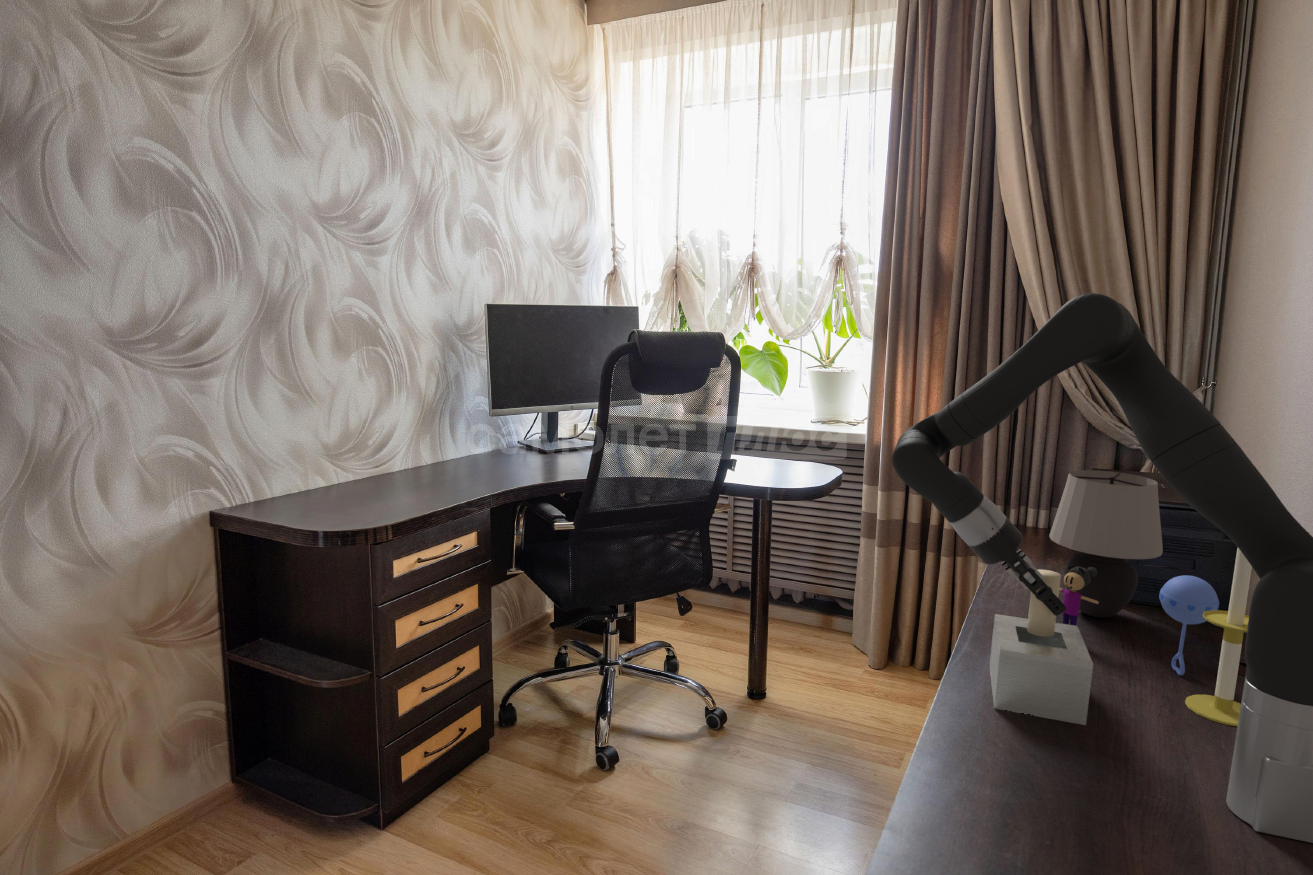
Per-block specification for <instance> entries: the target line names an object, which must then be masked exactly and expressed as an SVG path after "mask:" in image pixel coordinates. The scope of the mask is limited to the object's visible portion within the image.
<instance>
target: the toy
mask: <svg viewBox="0 0 1313 875" xmlns="http://www.w3.org/2000/svg"><path fill="white" fill-rule="evenodd" d="M1070 568H1072V569H1071V570H1070V571H1069V573H1067V574H1066V575H1064V578H1063V584H1064V586H1065V587H1066V589H1065V588H1062V587H1059V592H1061V593H1063V602H1062V603H1063V604H1064V605H1065V606H1066V610H1065V611H1064V612H1062V623H1061V624H1067V625H1074V626H1077V623H1078V617H1079V614H1080V610H1079V609H1080V602H1081V599H1084V600H1087V601H1090V602H1093V603H1096V604H1098V603H1099V602H1098V601H1096V600H1093V599H1090V598H1087V597H1085V596H1082V595H1081V594H1080V593H1078V592H1077V591H1075V590H1080V589H1082V588H1083V587H1085V586H1087V585H1088V584H1089V583H1090V581H1091V576H1092V577H1093V576H1096V575H1097V570H1096V569H1095V568H1094V567H1089V568H1088V569H1087V570H1086V569H1085V568H1083V567H1075V566H1074V565H1071V566H1069V567H1068V570H1069V569H1070ZM1067 588H1069V589H1071V590H1067Z"/></svg>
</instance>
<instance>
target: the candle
mask: <svg viewBox="0 0 1313 875" xmlns="http://www.w3.org/2000/svg"><path fill="white" fill-rule="evenodd" d="M1252 570H1253V568H1252V566H1251V565H1250V563H1249V562H1248V560H1247V559H1246V558H1245V556H1244V555H1243V553H1242V552H1241V551H1240V549H1239V548H1238V547H1237V549H1236V556H1235V562H1234V570H1233V577H1232V583H1231V590H1230V596H1229V598H1230V599H1229V604H1228V610H1219V609H1218V610H1210V611H1206V612H1204V613H1203V617H1204V619H1205V620H1206V622H1209V623H1211V624H1212V625H1214V626H1217V627H1220V628H1223V635H1222V642H1221V650H1220V655H1219V663H1218V664H1219V665H1218V669H1217V677H1216V684H1215V690H1214V695H1210V694H1192V695H1189V696H1187V697H1186V699H1185V701H1184V703H1185V705H1186V706H1187V708H1188V709H1189V710H1191V711H1192V712H1194V713H1195V714H1196V715H1198V716H1200V717H1202V718H1204V719H1207V720H1209V721H1212V722H1215V723H1219V724H1222V725H1225V726H1233V727H1236V728H1237V727H1238V721H1239V714H1240V708H1241V703H1240V702H1237V701H1235V700H1234V699H1235V692H1236V686H1237V681H1238V673H1239V666H1240V659H1241V653H1242V646H1243V639H1244V633H1245V634H1247V629H1248V621H1249V614H1248V615H1247V614H1246V610H1247V601H1248V597H1249V596H1248V595H1249V588H1250V581H1251V577H1252V576H1251V574H1252Z"/></svg>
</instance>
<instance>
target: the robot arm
mask: <svg viewBox="0 0 1313 875" xmlns="http://www.w3.org/2000/svg"><path fill="white" fill-rule="evenodd" d="M1080 363H1083V364H1084V365H1086V367H1087V368H1089V369H1090V370H1091V372H1092V373H1093V374H1094V375H1095V376H1096V377H1097V378H1098V379H1099V380H1100V381H1101V382H1102V383H1103V385H1105V387H1106V388H1107V389H1108V390H1109V392H1111V394H1112V395H1113V397H1114V398H1115V399H1116V401H1117V402H1118V404H1119V407H1120V408H1121V409H1122V411H1123V414H1124V415H1125V417H1126V420H1127V422H1128V425H1129V427H1130V428H1131V431H1132V432H1133V435H1134V437H1135V438H1136V441H1137V442H1138V444H1139V445H1140V448H1141V449H1142V450H1143V452H1144V454H1145V456H1146V457H1147V458H1148V459H1149V461H1150V462H1151V464H1152V465H1153V467H1154V468H1155V469H1156V471H1158V473H1159V474H1160V475H1161V477H1162V478H1163V479H1164V481H1165V482H1166V483H1167V485H1169V486H1170V488H1171V489H1172V490H1173V491H1174V492H1175V493H1176V494H1177V495H1178V496H1179V497H1180V498H1181V500H1183V501H1184V502H1185V503H1186V504H1188V505H1189V506H1190V508H1193V509H1194V510H1195V511H1196V512H1198V514H1200V515H1201V516H1202V517H1204V518H1205V519H1206V520H1208V521H1209V522H1210V523H1212V524H1213V525H1214V526H1215V527H1217V528H1218V529H1219V530H1220V531H1221V532H1222V533H1224V534H1225V535H1226V536H1227V537H1228V538H1229V539H1230V540H1231V541H1232V543H1234V545H1235V546H1236V547H1237V548H1239V549H1240V551H1241V552H1242V553H1243V555H1244V556H1245V558H1246V559H1247V560H1248V562H1249V563H1250V565H1251V566H1252V570H1254V572H1255V574H1256V575H1257V577H1258V578H1259V580H1258V582H1257V583H1256V586H1255V587H1254V590H1253V592H1252V593H1253V594H1252V597H1251V602H1250V608H1249V614H1248V616H1249V621H1248V629H1247V633H1246V638H1245V639H1246V640H1245V646H1244V659H1245V664H1246V670H1245V675H1244V676H1245V677H1244V684H1243V690H1242V697H1241V703H1240V704H1241V708H1240V714H1239V721H1238V727H1237V726H1236V734H1235V741H1234V748H1233V753H1232V761H1231V765H1230V772H1229V779H1228V787H1227V793H1226V801H1225V802H1226V805H1227V807H1228V809H1229V810H1230V811H1231V812H1232V813H1233V814H1234V815H1236V816H1237V817H1238V818H1239V819H1240V820H1242V821H1244V822H1246V823H1247V824H1249V825H1250V826H1251V827H1252V829H1253V831H1255V832H1257V833H1264V834H1267V835H1268V834H1269V835H1272V836H1278V837H1282V838H1287V839H1293V840H1297V841H1301V842H1307V843H1311V844H1313V536H1312V535H1311V534H1310V532H1308V531H1307V529H1305V528H1304V527H1303V525H1302V524H1301V523H1299V521H1298V520H1297V519H1296V518H1295V517H1294V516H1293V515H1292V513H1291V512H1290V511H1289V510H1288V509H1287V508H1286V506H1285V505H1284V504H1283V503H1282V501H1281V499H1280V498H1279V497H1278V495H1277V493H1276V492H1275V491H1274V489H1273V488H1272V487H1271V486H1270V484H1269V483H1268V481H1267V480H1266V479H1265V477H1264V476H1263V475H1262V473H1261V472H1260V471H1259V470H1258V468H1257V467H1256V465H1255V464H1253V462H1252V461H1251V459H1250V458H1249V456H1247V453H1245V451H1244V450H1243V449H1242V448H1241V446H1240V445H1239V444H1238V443H1237V442H1236V440H1235V439H1234V438H1233V437H1232V436H1231V433H1229V432H1228V431H1227V429H1226V428H1225V427H1224V425H1222V423H1221V422H1220V421H1219V419H1217V418H1216V417H1215V416H1214V414H1213V413H1212V412H1210V410H1209V409H1208V408H1207V406H1205V405H1204V404H1203V402H1202V401H1201V400H1199V399H1198V397H1197V396H1195V394H1194V393H1193V392H1192V391H1190V390H1189V388H1188V387H1186V386H1185V384H1183V383H1182V382H1181V381H1180V380H1179V379H1178V378H1176V376H1175V375H1173V373H1172V372H1171V371H1170V370H1169V369H1168V368H1167V367H1166V365H1165V364H1164V363H1163V362H1162V360H1161V359H1160V357H1159V356H1158V355H1157V353H1156V351H1155V350H1154V349H1153V347H1152V345H1151V344H1150V343H1149V340H1147V338H1146V336H1145V335H1144V334H1143V332H1142V330H1141V329H1140V327H1139V325H1138V323H1137V322H1136V320H1135V318H1134V317H1133V315H1132V314H1131V312H1130V310H1128V309H1127V308H1126V306H1125V305H1123V304H1122V303H1120V302H1118V301H1117V300H1116V299H1115V298H1112V297H1110V296H1108V295H1105V294H1102V293H1085V294H1080V295H1077V296H1075V297H1073V298H1071V299H1070V300H1068V301H1067V302H1065V304H1063V305H1062V306H1061V307H1060V308H1059V309H1058V310H1057V311H1056V312H1055V313H1054V314H1053V315H1052V316H1051V317H1050V318H1049V319H1048V320H1047V321H1046V322H1045V323H1044V324H1043V325H1042V326H1041V327H1040V328H1039V329H1038V330H1037V331H1036V332H1035V333H1034V334H1033V335H1032V336H1031V337H1030V338H1029V339H1028V340H1027V341H1026V342H1025V343H1023V345H1021V347H1020V348H1018V349H1017V350H1016V351H1014V353H1013V354H1012V355H1011V356H1009V357H1008V358H1007V359H1006V360H1005V361H1003V362H1002V363H1000V365H998V366H997V367H996V368H995V369H993V370H992V371H991V372H990V373H988V374H987V375H985V376H984V377H983V378H982V379H980V380H978V382H977V381H976V382H975V383H974V384H973V385H972V386H970V387H969V388H968V389H966V390H965V391H963V392H962V393H961V394H959V395H958V396H957V397H955V398H954V399H953V400H951V401H950V402H949V403H948V404H945V406H943V407H942V408H941V409H940V410H939V411H937V412H935V413H933V414H931V415H929V416H927V417H924V418H923V419H922V420H919V421H918V422H916V423H915V424H913V425H912V426H910V427H909V428H908V429H907V430H905V431H904V432H903V433H902V434H901V435H900V436H899V438H898V439H897V441H896V444H895V446H894V450H893V452H892V455H891V465H892V467H893V468H892V469H894V471H895V473H896V474H897V476H898V477H899V478H900V480H902V482H904V484H906V486H908V487H910V489H912V490H913V491H914V492H916V494H918V495H920V496H921V497H922V498H923V499H926V500H927V501H929V502H930V503H931V504H933V506H934V507H935V508H936V509H937V511H938V512H939V513H940V515H942V516H943V517H944V518H945V519H946V520H947V521H948V522H949V524H950V525H951V526H952V528H953V529H954V531H955V532H956V534H958V536H959V537H960V538H961V539H962V541H964V542H965V544H966V545H967V546H968V547H969V548H970V549H971V550H972V551H973V552H974V553H975V554H976V556H977V557H978V558H979V559H980V560H981V561H982V562H983V563H984V564H986V565H991V566H992V565H996V564H999V563H1000V562H1001V563H1000V564H1001V566H1002V567H1003V568H1004V570H1005V571H1006V572H1007V573H1008V574H1009V575H1010V577H1013V578H1015V580H1016V581H1017V582H1018V583H1019V584H1020V585H1021V586H1022V587H1023V588H1024V589H1025V590H1027V591H1028V590H1029V591H1030V593H1031V592H1032V593H1033V594H1034V595H1035V597H1036V598H1037V599H1039V600H1040V601H1042V602H1043V603H1044V604H1045V605H1046V606H1047V608H1048V609H1049V610H1050V611H1051V612H1052V613H1053V614H1054V615H1055V616H1056V617H1058V616H1059V615H1061V614H1063V612H1064V611H1065V610H1066V606H1065V605H1064V604H1063V603H1064V602H1062V601H1061V600H1060V598H1059V596H1058V597H1057V596H1056V595H1055V594H1054V593H1053V591H1052V589H1051V587H1050V586H1049V587H1048V586H1047V585H1046V583H1045V582H1044V581H1043V575H1042V574H1041V573H1040V572H1039V571H1038V568H1036V567H1035V565H1034V564H1033V562H1032V560H1031V559H1030V557H1028V555H1026V553H1025V552H1024V551H1023V550H1021V548H1020V549H1019V547H1021V545H1022V543H1023V539H1024V536H1023V534H1022V532H1021V531H1020V530H1019V529H1018V528H1017V527H1016V526H1015V525H1014V523H1013V522H1012V521H1011V520H1010V519H1009V518H1008V517H1007V516H1006V515H1005V514H1004V513H1003V511H1001V509H999V508H998V506H997V505H996V504H995V502H993V501H991V500H990V499H989V498H988V497H987V496H986V495H984V494H983V492H982V491H981V490H980V489H979V488H978V487H977V486H976V485H975V484H974V483H973V481H972V480H971V479H969V477H968V476H966V474H964V473H963V472H960V471H952V469H951V468H949V467H948V466H947V465H946V464H945V463H944V462H943V461H942V460H941V459H940V458H941V457H943V456H944V455H945V454H947V453H948V452H950V451H951V450H953V449H955V448H956V447H965V446H968V445H970V444H972V443H974V442H975V441H977V440H978V439H980V438H981V437H982V436H984V435H985V434H987V433H989V432H990V431H991V430H992V429H994V428H996V427H997V426H998V425H1000V424H1001V423H1002V422H1003V421H1005V420H1006V419H1007V418H1008V417H1009V416H1011V415H1012V414H1013V413H1014V412H1015V411H1016V410H1017V409H1018V408H1019V407H1021V405H1022V404H1023V403H1024V402H1025V401H1026V400H1027V399H1028V398H1029V397H1030V396H1031V395H1032V394H1033V393H1035V392H1036V391H1037V390H1038V389H1039V388H1040V387H1041V386H1043V385H1044V384H1046V383H1047V382H1048V381H1050V380H1051V379H1053V378H1054V377H1056V376H1057V375H1059V374H1060V373H1063V372H1064V371H1066V370H1068V369H1070V368H1073V367H1074V366H1076V365H1078V364H1080ZM1033 577H1034V578H1033ZM1042 586H1044V587H1043V588H1042V589H1041V590H1039V591H1038V592H1036V591H1037V590H1038V589H1039V588H1041V587H1042Z"/></svg>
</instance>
